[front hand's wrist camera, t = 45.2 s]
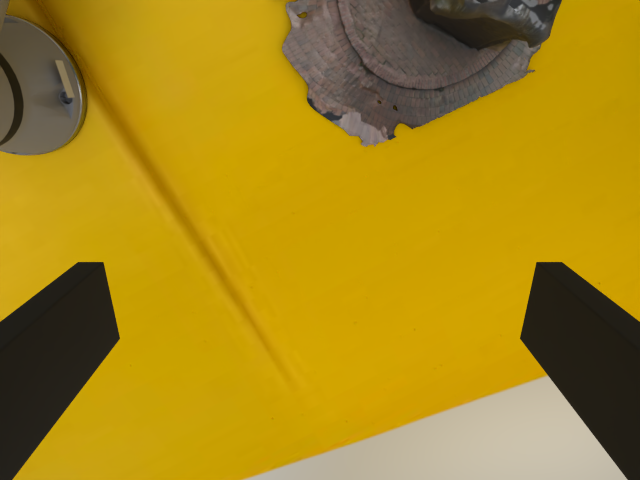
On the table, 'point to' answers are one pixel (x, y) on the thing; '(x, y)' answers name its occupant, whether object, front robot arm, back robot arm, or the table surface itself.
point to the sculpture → (410, 56)
